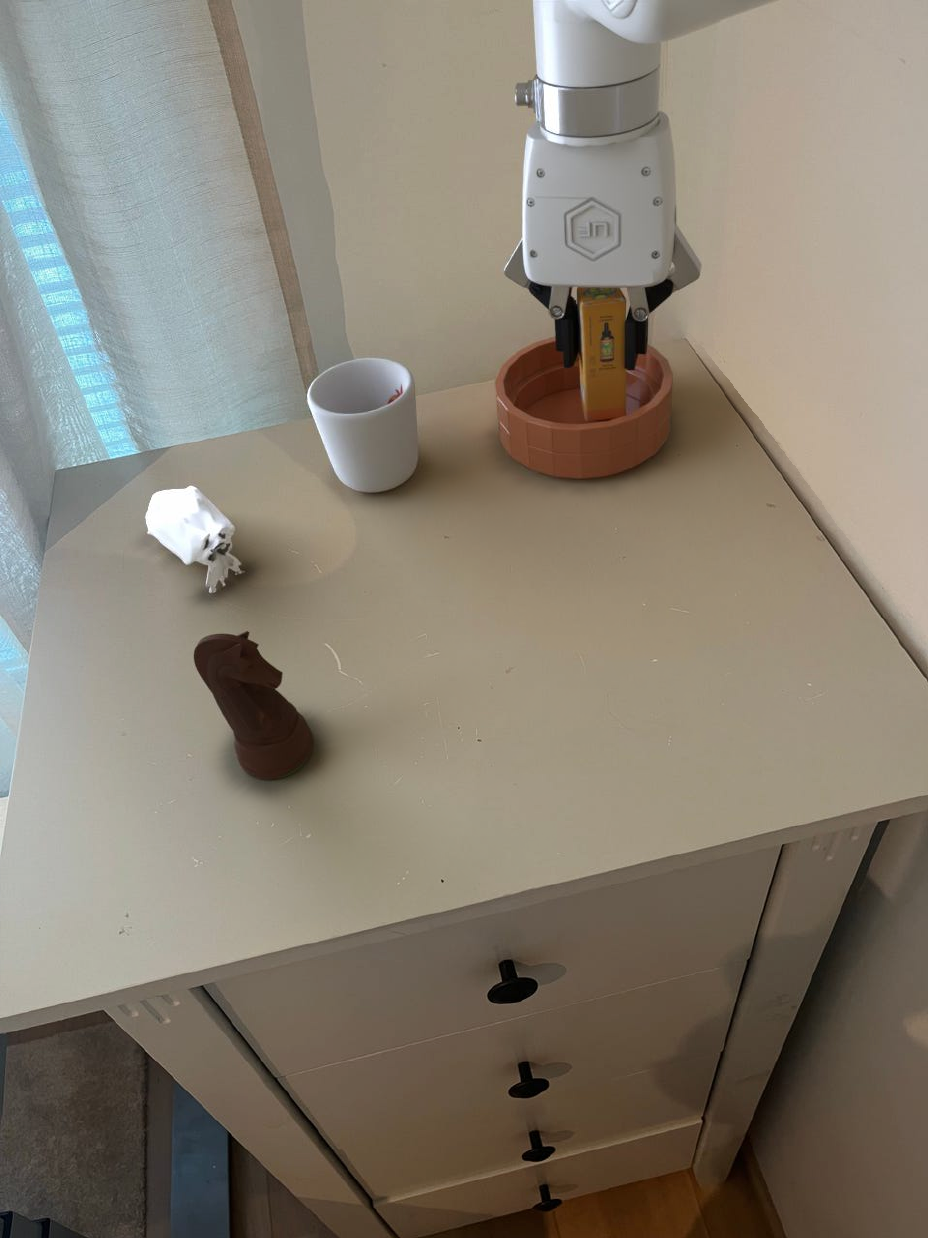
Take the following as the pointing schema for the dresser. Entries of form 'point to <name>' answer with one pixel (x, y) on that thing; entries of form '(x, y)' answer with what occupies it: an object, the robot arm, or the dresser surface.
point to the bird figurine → (193, 531)
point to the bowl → (579, 414)
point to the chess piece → (254, 706)
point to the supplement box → (602, 352)
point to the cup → (367, 422)
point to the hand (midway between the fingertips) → (601, 357)
